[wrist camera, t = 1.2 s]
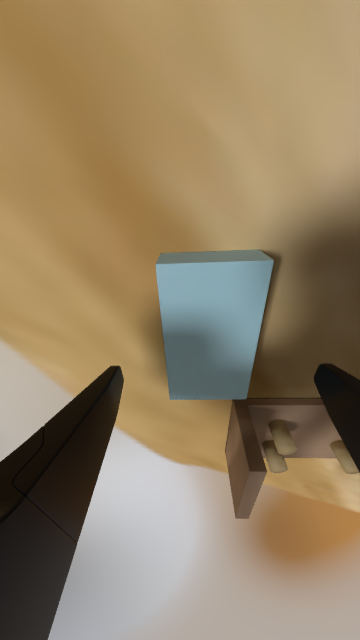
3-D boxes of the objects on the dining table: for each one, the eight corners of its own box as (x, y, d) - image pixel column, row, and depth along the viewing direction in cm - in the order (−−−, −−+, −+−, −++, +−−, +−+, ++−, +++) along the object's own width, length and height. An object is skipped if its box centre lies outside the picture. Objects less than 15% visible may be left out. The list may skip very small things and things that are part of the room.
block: (161, 251, 11) (155, 264, 9) (256, 248, 10) (274, 260, 8) (172, 372, 15) (169, 399, 13) (238, 372, 15) (246, 399, 13)
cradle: (409, 398, 16) (494, 474, 11) (364, 451, 20) (414, 522, 15) (232, 398, 16) (249, 471, 12) (225, 450, 20) (235, 518, 16)
